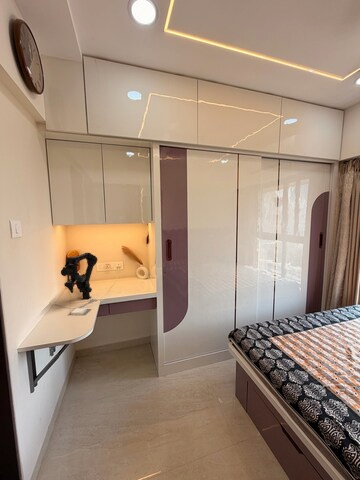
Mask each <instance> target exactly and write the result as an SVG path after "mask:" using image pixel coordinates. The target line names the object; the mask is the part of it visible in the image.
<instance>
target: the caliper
mask: <svg viewBox="0 0 360 480" xmlns="http://www.w3.org/2000/svg"><path fill="white" fill-rule="evenodd" d="M95 302H98V299H96V298H95V299H94V298H92V299H90V301H87V303H84V304H82V305H80V306H77V307H76V308H85V307H86V306H88V305H90V304H93V303H95ZM76 308H74V309H73V310H75V309H76Z"/></svg>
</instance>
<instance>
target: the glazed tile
mask: <svg viewBox="0 0 360 480" xmlns="http://www.w3.org/2000/svg"><path fill="white" fill-rule="evenodd" d="M74 309H75V310H74ZM74 309H73V310H74V311H73V310H71V311H70V312H71V315H70V316H84V315H83V314H84V313H85V312H86V311H87V309H88V308H87V307H82V308H77V307H75V308H74Z"/></svg>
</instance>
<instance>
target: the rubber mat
mask: <svg viewBox="0 0 360 480" xmlns="http://www.w3.org/2000/svg"><path fill="white" fill-rule="evenodd" d="M86 309H87V311H86V312H85V313H84V314H83V315H82V316H86V315H88V314H89V313H90V312H91V311H92V310H93V309H92V308H86ZM72 311H74V309H72ZM72 311H70V312H69V313H67V316H72V315H71V312H72Z"/></svg>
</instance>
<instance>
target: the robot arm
mask: <svg viewBox="0 0 360 480" xmlns="http://www.w3.org/2000/svg"><path fill="white" fill-rule="evenodd" d="M83 260H86V265H87V267H86V269H85V273H83V274H80V273H79V272H78V267H79V266H80V262H81V261H83ZM97 262H98V257H97V256H96V255H94V254H92V253H91V252H84V253H81V254H80V255H77V256H70V257H68V258H67V260H66V263H64V264H65V265H64V266H63V267H62V269H61V270H60V275H61V276H63V277H66V276H68V277H69V278H70V279H68V281H66V282H65V283H64V284H63V285H64V287H65V288H67V289H68V290H69V292H70V293H71V294H73V293H74V287H75V285H76V288H77V290H78V291H79V293H80V294H81V293H82V298H81V301H83V300H84V301H86V300H91V298H92V296H91V295H90V293H91V292H93V289H92V287H90V286H91V285H90V284H91V283H90V279H91V277H92V273H93V269H94V266H95V265H96V264H97Z"/></svg>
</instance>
